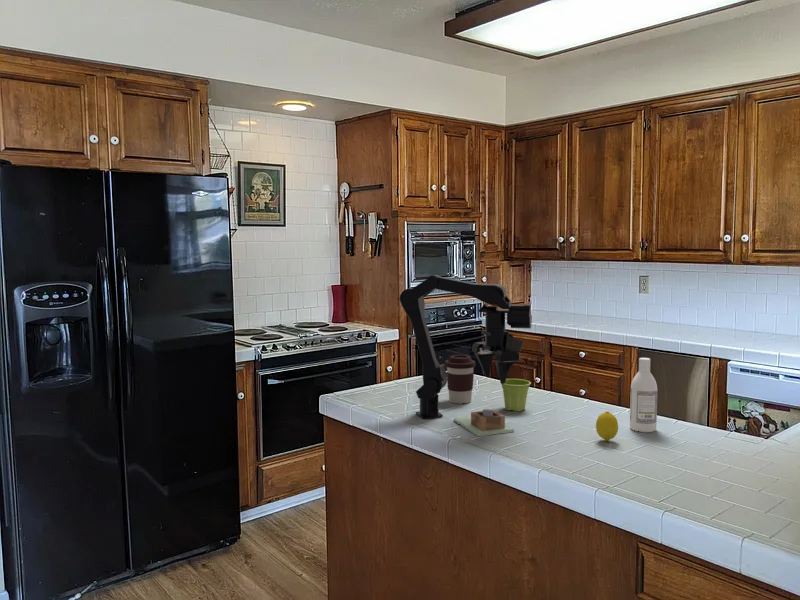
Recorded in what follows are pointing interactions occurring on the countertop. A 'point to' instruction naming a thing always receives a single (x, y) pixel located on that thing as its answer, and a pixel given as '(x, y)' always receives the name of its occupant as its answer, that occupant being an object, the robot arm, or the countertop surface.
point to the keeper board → (467, 424)
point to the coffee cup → (460, 378)
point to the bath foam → (643, 399)
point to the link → (487, 421)
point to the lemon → (607, 426)
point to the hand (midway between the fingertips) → (495, 380)
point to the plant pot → (515, 393)
